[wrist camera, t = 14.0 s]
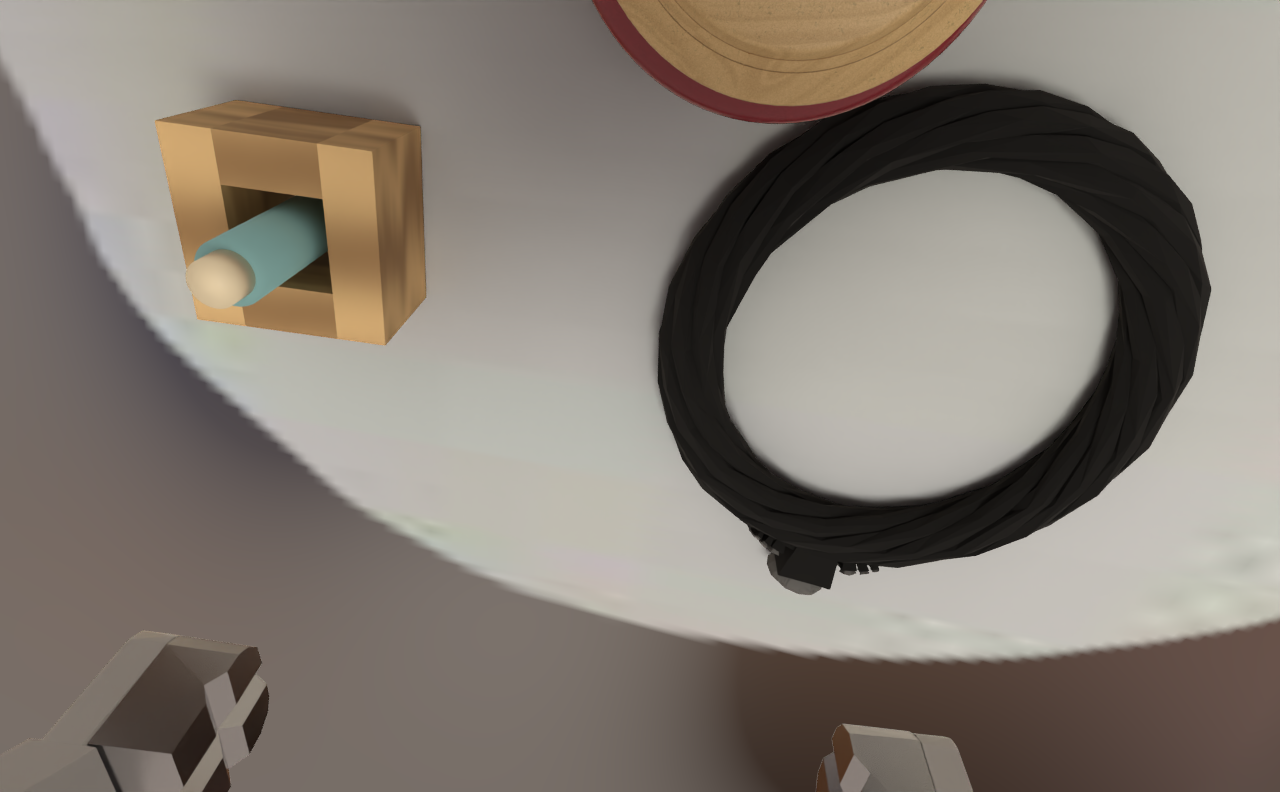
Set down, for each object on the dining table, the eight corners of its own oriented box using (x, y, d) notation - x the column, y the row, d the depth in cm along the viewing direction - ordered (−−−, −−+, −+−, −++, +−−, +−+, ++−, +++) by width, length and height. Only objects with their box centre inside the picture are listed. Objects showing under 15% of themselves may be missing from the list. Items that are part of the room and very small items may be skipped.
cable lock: (1377, 211, 30) (996, 652, 45) (1308, 189, 34) (975, 607, 48) (779, -9, 27) (582, 539, 42) (769, -9, 31) (590, 499, 46)
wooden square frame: (235, 100, 34) (154, 120, 29) (420, 126, 34) (372, 151, 29) (263, 274, 39) (197, 319, 33) (426, 297, 39) (385, 345, 33)
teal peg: (308, 176, 36) (168, 243, 26) (363, 184, 36) (243, 254, 26) (314, 229, 37) (182, 312, 27) (367, 237, 37) (254, 323, 27)
